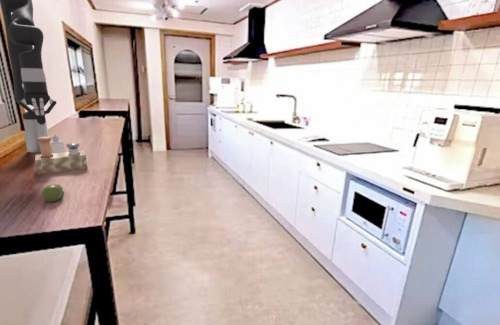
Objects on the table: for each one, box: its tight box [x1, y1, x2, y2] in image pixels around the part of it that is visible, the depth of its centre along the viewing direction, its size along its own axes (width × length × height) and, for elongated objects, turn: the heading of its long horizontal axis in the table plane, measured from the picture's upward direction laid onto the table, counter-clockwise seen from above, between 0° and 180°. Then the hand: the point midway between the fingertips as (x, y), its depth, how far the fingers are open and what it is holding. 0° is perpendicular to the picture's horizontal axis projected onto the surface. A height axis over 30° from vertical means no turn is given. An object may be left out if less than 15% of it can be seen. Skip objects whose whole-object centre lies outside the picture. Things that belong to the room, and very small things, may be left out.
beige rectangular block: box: [34, 150, 88, 175], centre depth 125 cm, size 18×9×6 cm, turn 124°
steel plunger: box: [65, 142, 80, 155], centre depth 127 cm, size 5×5×10 cm
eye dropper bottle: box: [50, 132, 66, 153], centre depth 140 cm, size 4×6×12 cm
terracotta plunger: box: [37, 136, 52, 158], centre depth 121 cm, size 5×5×10 cm
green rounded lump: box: [41, 183, 64, 203], centre depth 95 cm, size 6×5×10 cm
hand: (41, 124), depth 118 cm, fingers closed
